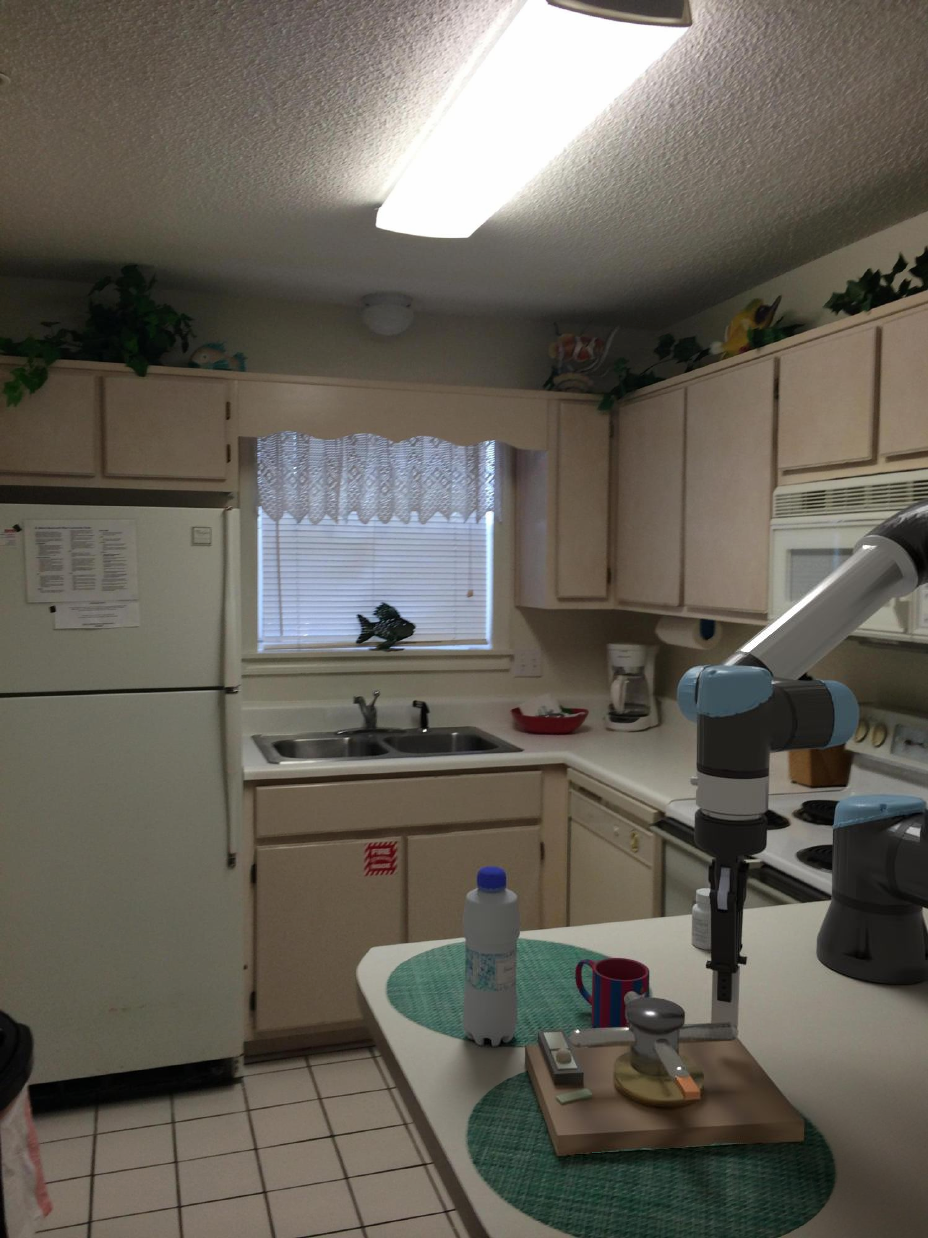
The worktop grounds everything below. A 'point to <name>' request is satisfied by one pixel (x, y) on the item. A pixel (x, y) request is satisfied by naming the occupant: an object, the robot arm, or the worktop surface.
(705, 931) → the pill bottle
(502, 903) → the bottle
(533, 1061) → the stand
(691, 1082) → the capstan
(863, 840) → the robot arm
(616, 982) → the mug
